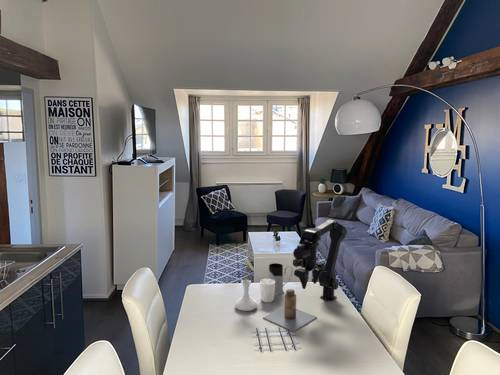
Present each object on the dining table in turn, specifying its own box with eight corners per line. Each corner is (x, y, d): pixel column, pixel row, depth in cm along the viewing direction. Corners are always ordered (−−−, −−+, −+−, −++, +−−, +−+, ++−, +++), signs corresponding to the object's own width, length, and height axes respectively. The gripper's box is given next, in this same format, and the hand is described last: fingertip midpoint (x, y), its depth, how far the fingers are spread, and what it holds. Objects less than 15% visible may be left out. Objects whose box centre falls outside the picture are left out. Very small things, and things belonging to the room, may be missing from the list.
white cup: (275, 296, 204) (275, 278, 203) (274, 303, 197) (275, 284, 195) (260, 296, 205) (260, 278, 204) (259, 302, 197) (259, 284, 196)
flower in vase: (257, 313, 186) (257, 263, 182) (234, 313, 186) (233, 263, 182) (257, 301, 199) (257, 255, 195) (235, 301, 199) (235, 254, 195)
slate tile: (286, 306, 193) (286, 305, 193) (316, 318, 181) (316, 316, 181) (263, 318, 181) (263, 317, 180) (293, 332, 168) (293, 331, 168)
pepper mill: (293, 313, 184) (293, 287, 182) (297, 318, 179) (298, 292, 177) (282, 315, 183) (282, 289, 181) (286, 320, 178) (287, 294, 176)
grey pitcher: (265, 289, 214) (265, 263, 211) (288, 286, 218) (289, 261, 216) (270, 295, 205) (271, 269, 203) (295, 292, 210) (295, 266, 207)
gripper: (307, 248, 198) (306, 276, 201) (285, 256, 185) (284, 286, 187) (326, 252, 191) (324, 282, 193) (304, 261, 177) (303, 293, 180)
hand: (309, 286), depth 188 cm, fingers open, 9 cm apart
